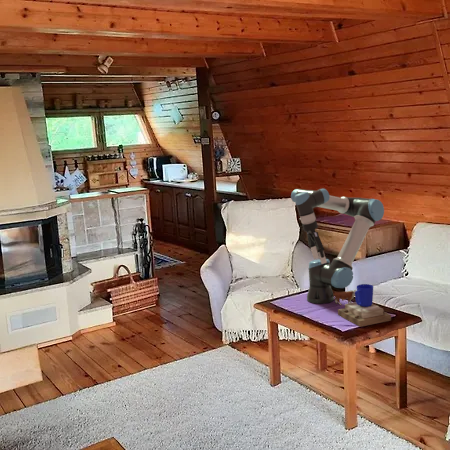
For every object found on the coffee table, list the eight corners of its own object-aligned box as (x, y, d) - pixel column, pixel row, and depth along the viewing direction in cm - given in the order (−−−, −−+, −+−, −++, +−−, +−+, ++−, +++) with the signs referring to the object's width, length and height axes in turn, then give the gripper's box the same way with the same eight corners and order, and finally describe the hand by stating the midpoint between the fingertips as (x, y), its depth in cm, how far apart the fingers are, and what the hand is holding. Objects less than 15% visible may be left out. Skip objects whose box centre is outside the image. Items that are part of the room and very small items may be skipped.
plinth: (338, 315, 294) (337, 303, 293) (367, 309, 300) (367, 298, 299) (359, 326, 275) (359, 315, 274) (390, 320, 281) (390, 308, 280)
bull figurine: (358, 305, 306) (358, 290, 305) (333, 305, 309) (333, 291, 308) (358, 302, 311) (358, 288, 309) (333, 302, 314) (333, 288, 312)
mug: (349, 307, 286) (348, 288, 284) (363, 301, 294) (362, 283, 292) (363, 310, 280) (362, 291, 278) (376, 304, 287) (376, 285, 286)
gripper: (296, 221, 301) (307, 258, 305) (308, 227, 277) (320, 267, 280) (309, 217, 302) (319, 254, 305) (323, 222, 277) (334, 262, 281)
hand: (320, 260), depth 293 cm, fingers open, 13 cm apart
